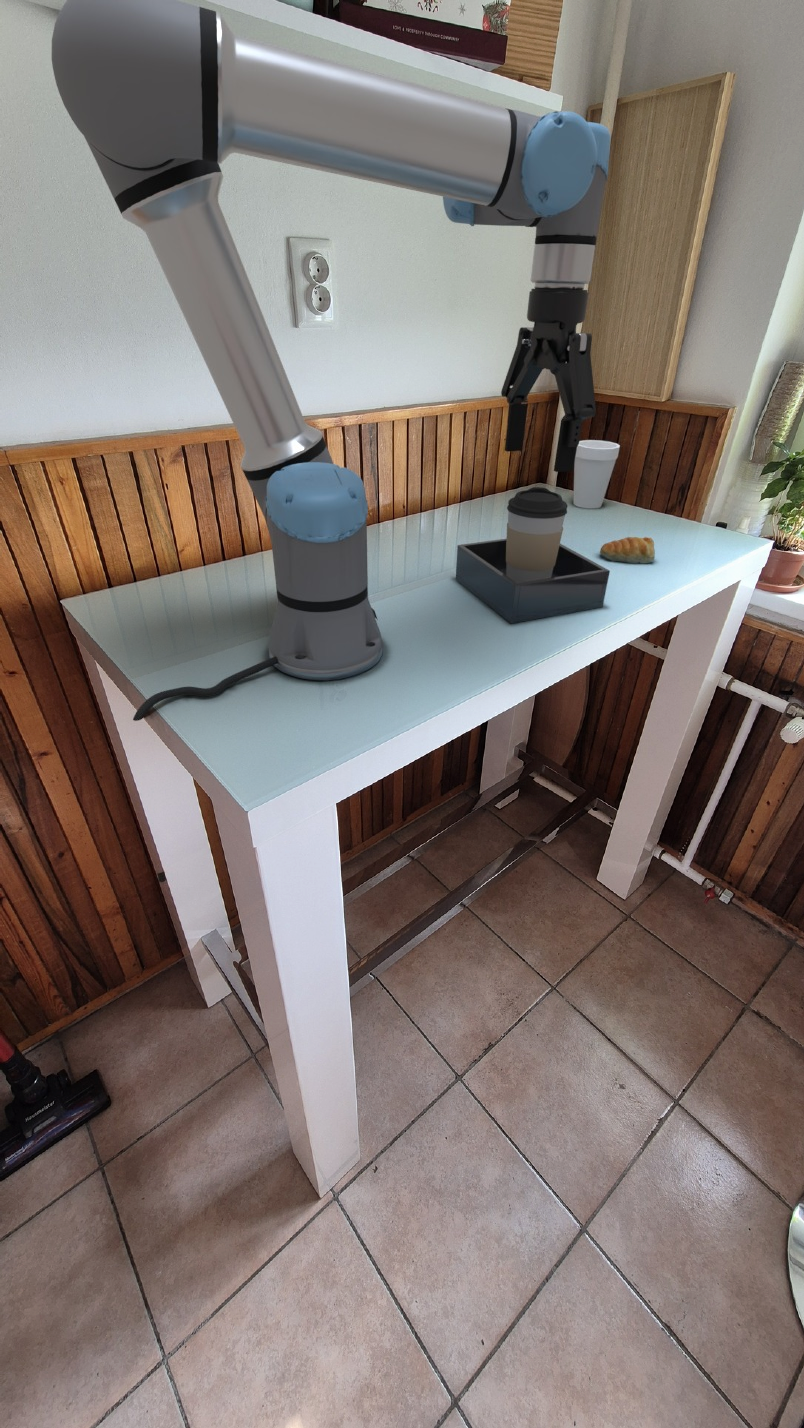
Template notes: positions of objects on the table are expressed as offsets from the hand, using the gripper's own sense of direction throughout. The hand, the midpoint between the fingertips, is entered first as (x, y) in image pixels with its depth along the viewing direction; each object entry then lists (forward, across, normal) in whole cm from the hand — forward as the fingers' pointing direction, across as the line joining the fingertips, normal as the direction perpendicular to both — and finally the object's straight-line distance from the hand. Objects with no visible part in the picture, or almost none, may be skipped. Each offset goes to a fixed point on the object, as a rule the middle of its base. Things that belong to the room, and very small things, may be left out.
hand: (537, 460), depth 95 cm
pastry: (+20, +6, -27) cm, 35 cm away
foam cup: (+20, +39, -41) cm, 60 cm away
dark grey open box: (+20, -1, -1) cm, 21 cm away
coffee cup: (+20, -1, -1) cm, 20 cm away
